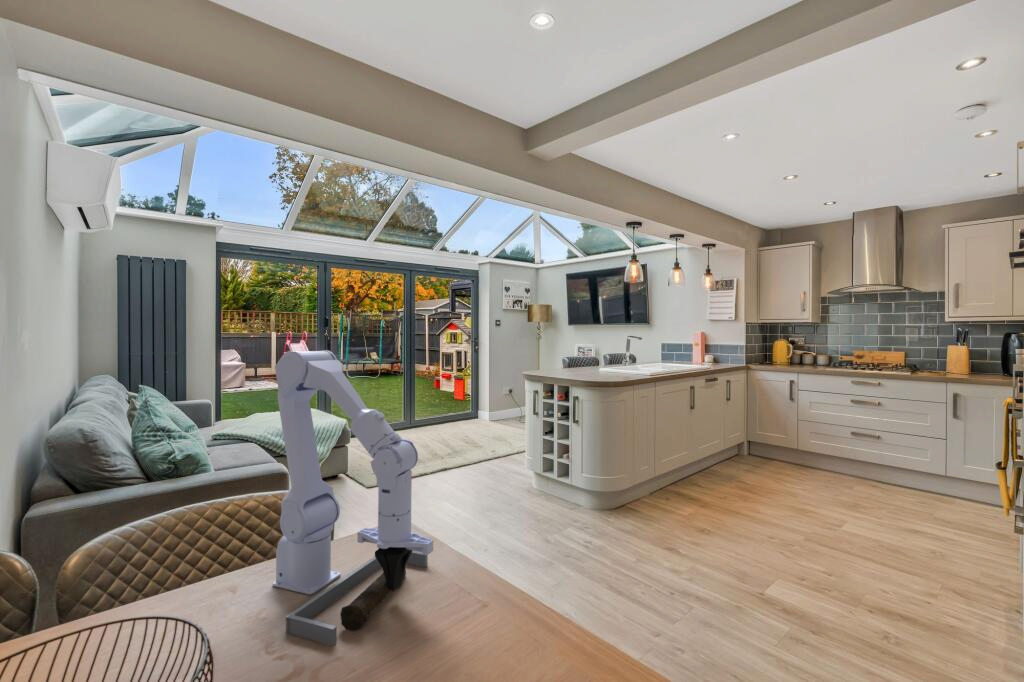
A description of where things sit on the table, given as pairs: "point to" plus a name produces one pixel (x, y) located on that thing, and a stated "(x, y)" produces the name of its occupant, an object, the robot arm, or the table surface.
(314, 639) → the u-shaped bracket
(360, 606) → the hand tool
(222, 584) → the table surface
